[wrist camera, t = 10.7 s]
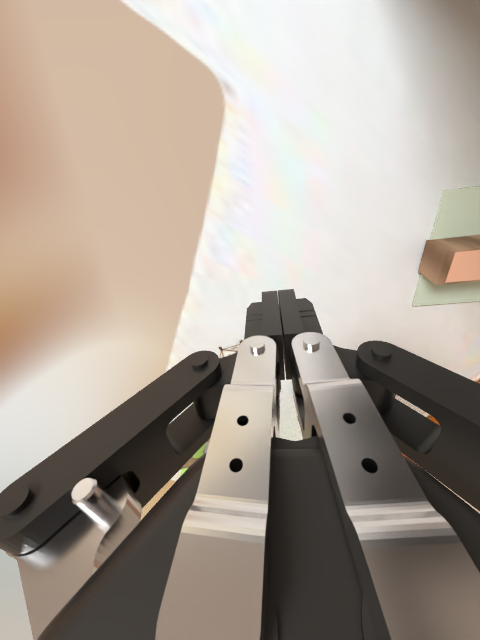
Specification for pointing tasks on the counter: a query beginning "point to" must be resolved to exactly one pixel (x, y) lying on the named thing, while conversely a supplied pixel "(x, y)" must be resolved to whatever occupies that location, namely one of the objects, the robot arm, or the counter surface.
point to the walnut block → (451, 260)
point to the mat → (451, 221)
